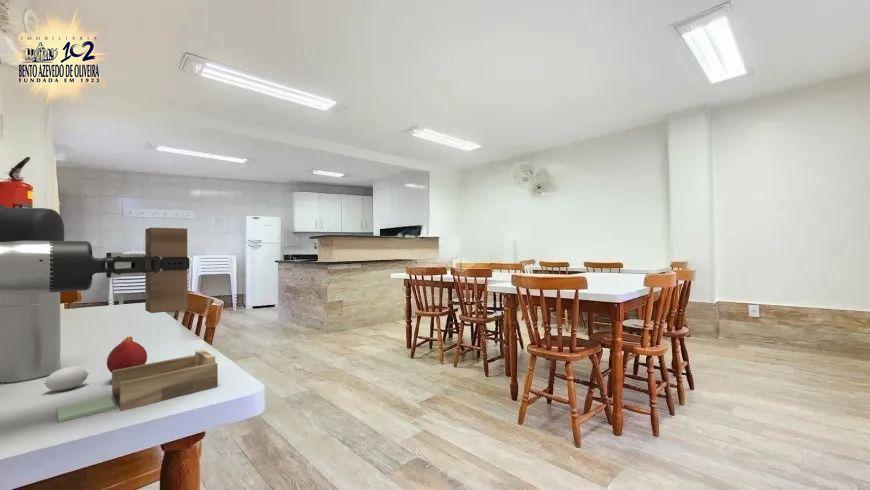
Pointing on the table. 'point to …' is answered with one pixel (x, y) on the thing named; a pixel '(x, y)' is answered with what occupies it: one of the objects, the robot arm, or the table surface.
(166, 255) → the post
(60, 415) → the pad
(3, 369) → the robot arm
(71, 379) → the egg
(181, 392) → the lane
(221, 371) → the table surface
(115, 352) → the onion
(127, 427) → the table surface
